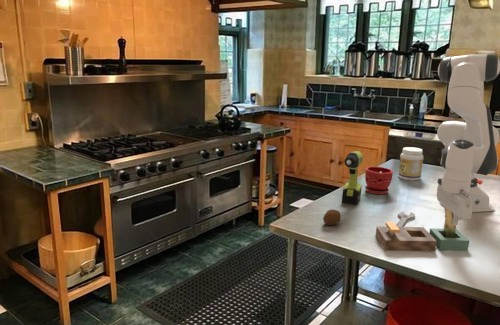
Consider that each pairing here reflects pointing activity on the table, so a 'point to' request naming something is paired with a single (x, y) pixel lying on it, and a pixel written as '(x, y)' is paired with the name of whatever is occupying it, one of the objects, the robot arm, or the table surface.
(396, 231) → the block
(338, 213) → the potato
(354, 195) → the cordless drill
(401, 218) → the adjustable wrench
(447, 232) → the gold rounded cylinder
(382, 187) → the plant pot
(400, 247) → the socket block
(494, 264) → the table surface
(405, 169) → the supplement tub
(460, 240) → the green square frame
